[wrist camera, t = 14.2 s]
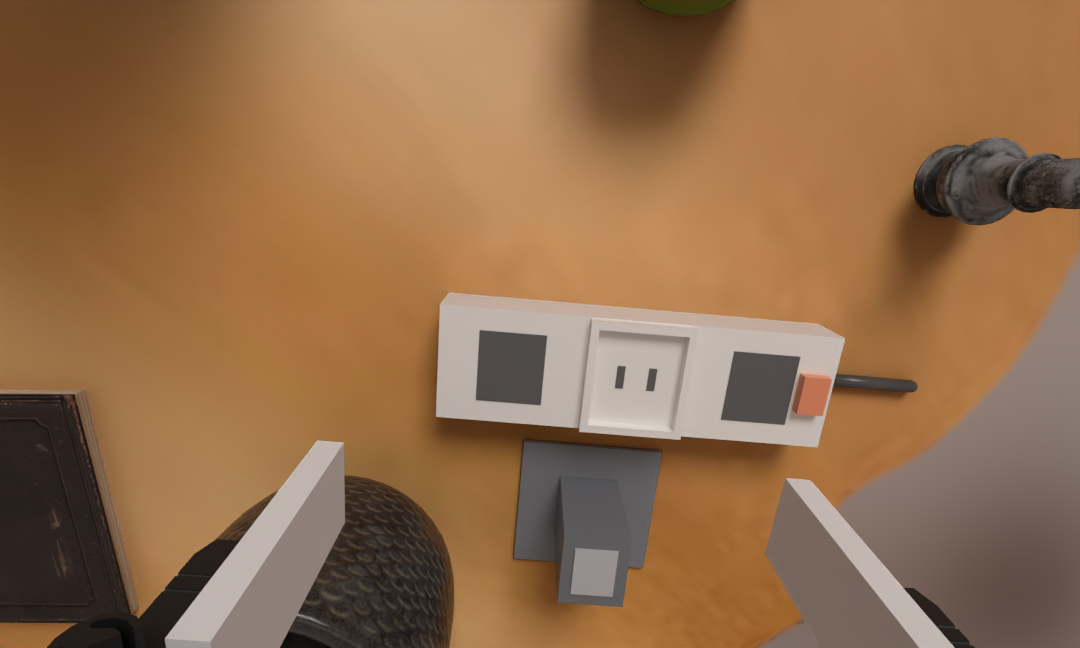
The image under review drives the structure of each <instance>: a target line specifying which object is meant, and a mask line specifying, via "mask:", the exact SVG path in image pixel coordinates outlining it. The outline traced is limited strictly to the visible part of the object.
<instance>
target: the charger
mask: <svg viewBox="0 0 1080 648" xmlns="http://www.w3.org/2000/svg"><path fill="white" fill-rule="evenodd" d="M631 545H632V537H631V533H630V529H629V525H628V521H627V517H626V513H625V509H624V505H623V501H622V497H621V493H620V489H619V485H618V481H617V480H613V479H599V478H585V477H570V476H560V486H559V496H558V506H557V516H556V526H555V556H556V582H557V603H571V604H586V605H601V606H616V607H622V606H623V599H624V593H625V586H626V579H627V572H628V566H629V559H630V552H631Z"/></svg>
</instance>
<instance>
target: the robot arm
mask: <svg viewBox="0 0 1080 648" xmlns="http://www.w3.org/2000/svg"><path fill="white" fill-rule="evenodd" d="M344 523H345V483H344V443H342V442H330V441H318V440H317V441H316V443H315V444H314V445H313V447H312V448H311V449H310V451H309V452H308V453H307V454H306V456H305V457H304V458H303V460H302V461H301V462H300V464H299V465H298V466H297V467H296V469H295V470H294V471H293V473H292V474H291V475H290V477H289V478H288V479H287V480H286V482H285V483H284V484H283V486H282V487H281V488H280V490H279V491H278V492H277V493H276V495H275V496H274V497H273V499H272V500H271V501H270V503H269V504H268V505H267V506H266V508H265V509H264V510H263V512H262V513H261V514H260V516H259V517H258V518H257V519H256V521H255V522H254V523H253V525H252V526H251V527H250V529H249V530H248V531H247V532H246V534H245V535H244V536H243V538H242V539H241V540H240V541H236V540H222V539H216V540H215V541H213V542H212V543H210V544H209V545H207V546H206V547H204V548H203V549H201V550H200V551H198V552H197V553H195V554H194V555H193V556H192V557H191V559H190V560H189V561H188V562H187V563H186V564H185V566H184V567H183V568H182V569H181V570H180V571H179V573H178V576H175V577H174V578H173V580H172V581H171V582H170V583H169V584H168V585H167V586H166V588H165V591H164V592H161V593H160V595H159V596H158V597H157V598H156V599H155V600H154V602H153V603H152V604H151V605H150V606H149V607H148V609H147V610H146V611H145V612H144V613H143V614H142V616H141V617H140V618H139V619H138V618H137V616H134V615H132V614H129V613H126V612H110V613H105V614H102V615H98V616H94V617H90V618H88V619H86V620H84V621H82V622H80V623H78V624H76V625H74V626H72V627H70V628H69V629H67V630H66V631H65V632H63V633H62V634H60V635H59V636H58V637H56V638H55V639H54V640H53V641H52V642H51V644H50V645H49V646H48V647H47V648H280V646H281V645H282V643H283V641H284V639H285V637H286V635H287V633H288V631H289V629H290V627H291V625H292V623H293V621H294V620H295V618H296V616H297V614H298V612H299V610H300V608H301V606H302V604H303V602H304V600H305V598H306V596H307V594H308V593H309V591H310V589H311V587H312V585H313V583H314V581H315V579H316V577H317V575H318V573H319V571H320V569H321V568H322V566H323V564H324V562H325V560H326V558H327V556H328V554H329V552H330V550H331V548H332V546H333V544H334V543H335V541H336V539H337V537H338V535H339V533H340V531H341V529H342V527H343V525H344ZM765 555H766V556H767V558H768V560H769V561H770V563H771V565H772V566H773V568H774V570H775V572H776V573H777V575H778V577H779V578H780V580H781V582H782V584H783V585H784V587H785V589H786V590H787V592H788V594H789V596H790V597H791V599H792V601H793V602H794V604H795V606H796V607H797V609H798V611H799V613H800V614H801V616H802V618H803V619H804V621H805V623H806V625H807V626H808V628H809V630H810V631H811V633H812V635H813V636H814V638H815V640H816V642H817V643H818V645H819V647H820V648H975V647H974V646H970V643H969V641H968V639H967V638H966V637H965V636H964V635H963V634H962V633H961V632H960V631H959V629H955V625H954V624H953V623H952V622H951V621H950V620H949V618H948V617H946V615H945V614H944V613H943V612H942V611H941V610H940V608H939V607H938V606H937V605H935V604H934V603H933V602H931V601H930V600H929V599H927V598H926V597H925V596H923V595H922V594H920V593H919V592H918V591H916V590H915V589H914V588H903V587H902V586H901V585H900V584H899V582H898V581H897V580H896V579H895V578H894V577H893V576H892V574H891V573H890V572H889V571H888V570H887V569H886V567H885V566H884V565H883V564H882V563H881V562H880V561H879V559H878V558H877V557H876V556H875V555H874V554H873V552H872V551H871V550H870V549H869V548H868V547H867V545H866V544H865V543H864V542H863V541H862V540H861V538H860V537H859V536H858V535H857V534H856V533H855V531H854V530H853V529H852V528H851V527H850V526H849V524H848V523H847V522H846V521H845V520H844V519H843V518H842V516H841V515H840V514H839V513H838V512H837V510H836V509H835V508H834V507H833V506H832V505H831V504H830V502H829V501H828V500H827V499H826V498H825V497H824V495H823V494H822V493H821V492H820V491H819V490H818V488H817V487H816V486H815V485H814V484H813V483H812V481H811V480H802V479H789V478H785V482H784V486H783V489H782V493H781V497H780V500H779V504H778V508H777V511H776V515H775V519H774V522H773V526H772V530H771V534H770V537H769V541H768V545H767V548H766V552H765Z"/></svg>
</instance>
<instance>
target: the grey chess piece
mask: <svg viewBox="0 0 1080 648" xmlns="http://www.w3.org/2000/svg"><path fill="white" fill-rule="evenodd" d="M914 194H915V197H916V201H917V203H918V204H919V206H920V207H921V209H923V210H924V211H925V212H926V213H928V214H930V215H933V216H936V217H950V216H954V217H955V218H956V219H958V220H959V221H961V222H964V223H966V224H969V225H985V224H990V223H993V222H996V221H998V220H1000V219H1002V218H1004V217H1005V216H1007V215H1008V214H1009V213H1011V212H1012V211H1013V210H1014V209H1015V208H1016V209H1017V210H1019V211H1022V212H1029V213H1033V212H1038V211H1041V210H1043V209H1046V208H1064V209H1080V158H1073V159H1061V158H1060V157H1059V156H1057V155H1054V154H1052V153H1040V154H1035V155H1033V156H1031V157H1028V155H1027V153H1026V152H1025V150H1024V149H1023V148H1022V147H1021V146H1020V145H1019V144H1018V143H1016V142H1014V141H1012V140H1009V139H1007V138H996V137H994V138H989V139H984V140H981V141H978V142H976V143H974V144H972V145H970V146H969V147H968V146H965V145H952V146H947V147H944V148H942V149H939V150H937V151H936V152H934V153H933V154H932V155H930V156H929V157H928V158H927V159H926V160H925V162H924V163H923V164H922V165H921V167H920V169H919V171H918V173H917V175H916V179H915V183H914Z"/></svg>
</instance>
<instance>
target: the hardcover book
mask: <svg viewBox="0 0 1080 648" xmlns="http://www.w3.org/2000/svg"><path fill="white" fill-rule="evenodd" d="M138 607H139V603H138V599H137V595H136V591H135V587H134V583H133V579H132V575H131V571H130V567H129V563H128V559H127V555H126V551H125V547H124V543H123V539H122V535H121V531H120V527H119V523H118V519H117V515H116V511H115V507H114V503H113V499H112V495H111V491H110V487H109V483H108V479H107V475H106V471H105V467H104V463H103V459H102V455H101V451H100V447H99V443H98V439H97V435H96V431H95V427H94V423H93V419H92V415H91V411H90V407H89V403H88V399H87V395H86V391H85V390H0V622H18V623H80V622H82V621H84V620H86V619H88V618H90V617H94V616H98V615H102V614H105V613H110V612H126V613H129V614H133V612H134V611H135V610H136V609H138Z"/></svg>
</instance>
